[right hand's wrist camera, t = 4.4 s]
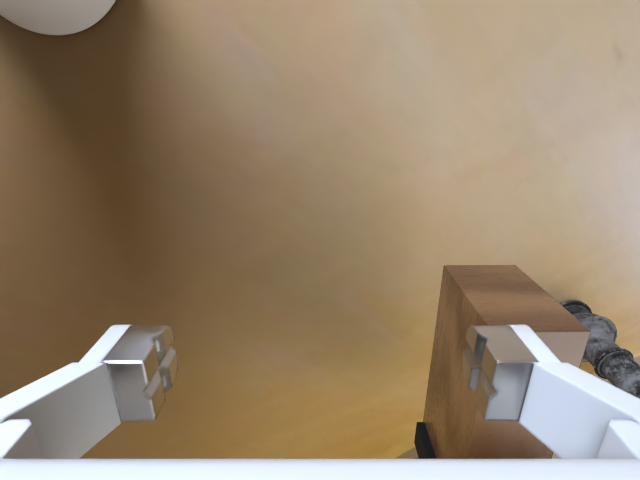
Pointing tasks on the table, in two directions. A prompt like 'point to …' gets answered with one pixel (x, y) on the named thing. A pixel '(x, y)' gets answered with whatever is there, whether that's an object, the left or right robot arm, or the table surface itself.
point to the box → (449, 344)
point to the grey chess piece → (606, 350)
